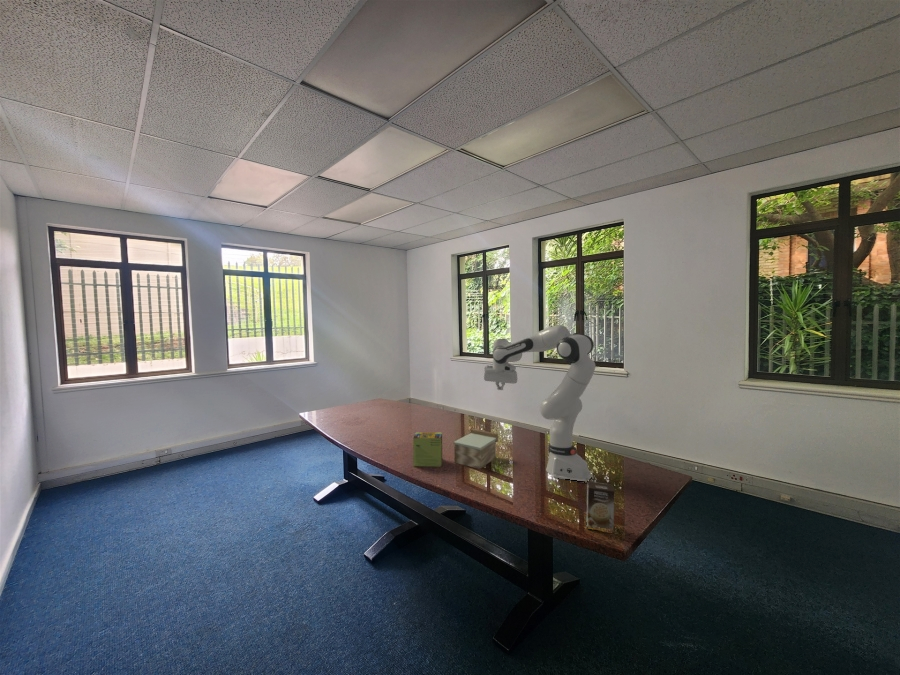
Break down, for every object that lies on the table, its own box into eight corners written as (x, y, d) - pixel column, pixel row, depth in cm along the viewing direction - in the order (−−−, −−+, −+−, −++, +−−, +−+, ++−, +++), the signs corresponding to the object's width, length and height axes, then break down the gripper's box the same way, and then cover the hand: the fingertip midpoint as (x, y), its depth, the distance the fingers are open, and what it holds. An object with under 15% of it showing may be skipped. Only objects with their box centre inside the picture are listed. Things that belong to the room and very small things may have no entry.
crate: (495, 458, 202) (495, 440, 202) (480, 469, 187) (480, 450, 187) (471, 452, 211) (471, 435, 211) (454, 462, 196) (454, 444, 196)
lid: (497, 441, 204) (497, 433, 203) (480, 452, 186) (480, 444, 186) (472, 436, 213) (472, 428, 213) (453, 446, 196) (453, 438, 195)
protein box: (441, 466, 191) (441, 438, 190) (412, 466, 191) (412, 437, 190) (442, 459, 201) (442, 431, 200) (415, 459, 202) (415, 431, 201)
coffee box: (586, 530, 133) (587, 487, 132) (586, 520, 139) (586, 480, 138) (613, 534, 130) (614, 491, 129) (612, 525, 136) (612, 483, 135)
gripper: (482, 365, 212) (482, 388, 213) (514, 368, 201) (514, 392, 202) (487, 364, 218) (487, 387, 218) (518, 366, 206) (518, 390, 207)
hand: (500, 389), depth 210 cm, fingers closed
